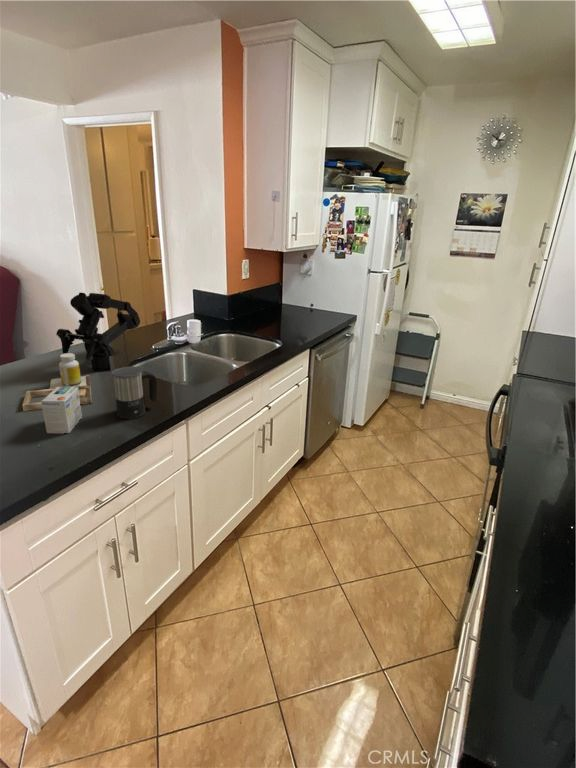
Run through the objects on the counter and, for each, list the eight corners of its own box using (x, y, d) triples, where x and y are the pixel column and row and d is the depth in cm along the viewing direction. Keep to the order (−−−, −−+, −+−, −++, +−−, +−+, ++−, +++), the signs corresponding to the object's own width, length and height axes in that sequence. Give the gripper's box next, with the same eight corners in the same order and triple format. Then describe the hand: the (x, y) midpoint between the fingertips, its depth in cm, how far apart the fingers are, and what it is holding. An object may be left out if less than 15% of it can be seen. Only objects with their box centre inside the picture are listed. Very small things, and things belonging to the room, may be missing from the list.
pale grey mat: (89, 377, 162) (89, 375, 162) (89, 389, 151) (89, 388, 151) (51, 380, 157) (51, 379, 156) (49, 393, 146) (48, 392, 146)
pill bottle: (85, 383, 155) (81, 354, 150) (71, 389, 149) (67, 359, 145) (72, 380, 157) (67, 351, 152) (57, 386, 151) (53, 356, 146)
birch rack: (91, 390, 151) (89, 374, 149) (91, 403, 141) (89, 387, 139) (27, 396, 143) (24, 380, 141) (23, 411, 133) (19, 394, 131)
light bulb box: (61, 417, 131) (56, 386, 127) (83, 417, 132) (78, 386, 127) (45, 433, 121) (39, 400, 117) (69, 434, 122) (64, 401, 118)
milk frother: (128, 422, 131) (124, 379, 125) (97, 408, 138) (92, 366, 132) (163, 407, 142) (160, 367, 136) (132, 395, 149) (129, 356, 144)
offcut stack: (87, 394, 148) (86, 387, 147) (87, 401, 143) (86, 394, 142) (65, 396, 145) (64, 389, 144) (64, 404, 140) (63, 397, 139)
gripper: (121, 335, 166) (108, 370, 160) (78, 329, 168) (64, 363, 162) (108, 320, 155) (94, 357, 150) (63, 314, 157) (47, 351, 152)
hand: (75, 357), depth 154 cm, fingers open, 9 cm apart
